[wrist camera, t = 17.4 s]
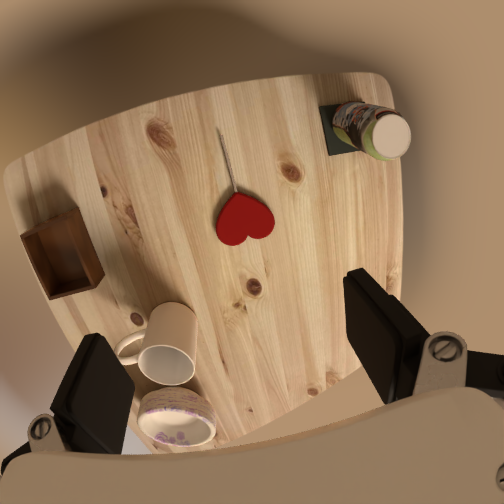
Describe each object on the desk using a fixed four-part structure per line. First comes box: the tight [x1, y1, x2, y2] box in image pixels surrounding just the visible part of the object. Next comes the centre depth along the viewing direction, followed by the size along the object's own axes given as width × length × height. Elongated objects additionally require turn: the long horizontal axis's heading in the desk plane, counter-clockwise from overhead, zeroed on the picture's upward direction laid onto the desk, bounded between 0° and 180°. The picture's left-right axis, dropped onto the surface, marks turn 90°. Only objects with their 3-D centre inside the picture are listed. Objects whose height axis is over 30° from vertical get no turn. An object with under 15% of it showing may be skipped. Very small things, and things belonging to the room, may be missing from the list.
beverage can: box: [332, 101, 411, 161], centre depth 31 cm, size 6×7×12 cm
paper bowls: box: [137, 387, 216, 447], centre depth 49 cm, size 15×15×8 cm
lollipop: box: [216, 135, 275, 246], centre depth 38 cm, size 8×1×15 cm
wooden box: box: [20, 207, 105, 300], centre depth 37 cm, size 11×10×4 cm
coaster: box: [319, 102, 365, 156], centre depth 36 cm, size 7×7×1 cm
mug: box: [114, 302, 198, 385], centre depth 40 cm, size 12×8×10 cm, turn 90°
